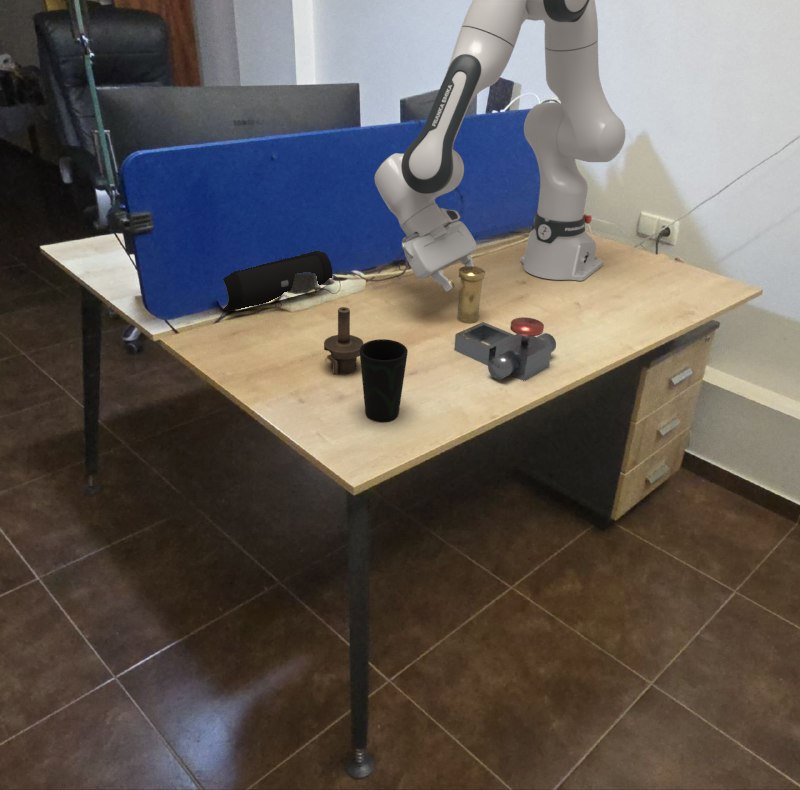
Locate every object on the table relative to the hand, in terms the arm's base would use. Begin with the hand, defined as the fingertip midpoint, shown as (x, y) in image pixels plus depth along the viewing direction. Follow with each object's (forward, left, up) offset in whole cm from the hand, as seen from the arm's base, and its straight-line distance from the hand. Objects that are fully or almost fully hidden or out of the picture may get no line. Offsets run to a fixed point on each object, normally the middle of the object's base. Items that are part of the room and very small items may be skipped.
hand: (462, 282), depth 149 cm
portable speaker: (+25, -33, -8) cm, 42 cm away
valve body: (+9, +18, -8) cm, 21 cm away
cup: (+40, +17, -8) cm, 44 cm away
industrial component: (+33, +1, -8) cm, 34 cm away
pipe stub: (0, +2, -8) cm, 8 cm away
